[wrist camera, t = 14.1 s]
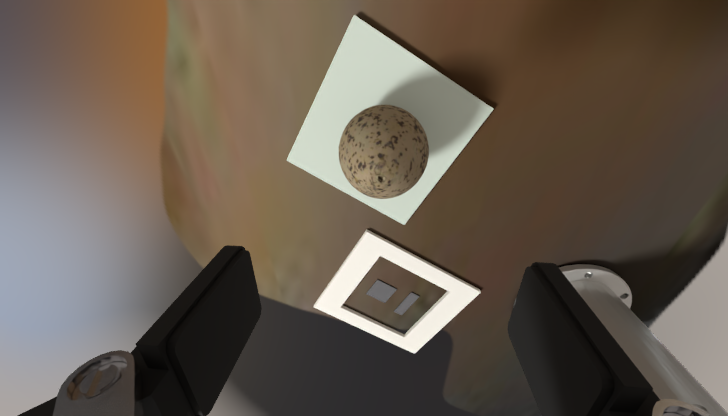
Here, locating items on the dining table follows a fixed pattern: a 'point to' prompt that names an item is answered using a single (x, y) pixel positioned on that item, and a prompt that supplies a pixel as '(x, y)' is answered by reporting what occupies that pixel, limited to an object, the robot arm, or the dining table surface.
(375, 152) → the decorative egg
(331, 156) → the sage mat
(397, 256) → the white square frame
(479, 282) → the dining table surface
